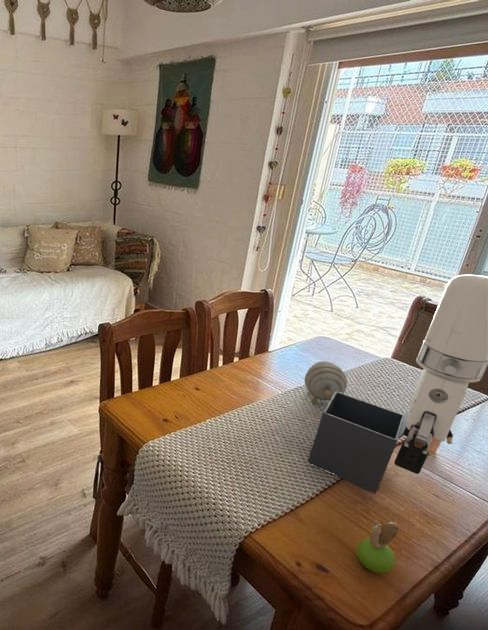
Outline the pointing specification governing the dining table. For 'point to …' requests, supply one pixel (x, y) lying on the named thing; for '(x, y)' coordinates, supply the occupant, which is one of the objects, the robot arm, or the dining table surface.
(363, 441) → the carton
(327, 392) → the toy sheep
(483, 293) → the robot arm
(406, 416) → the flap
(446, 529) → the dining table surface
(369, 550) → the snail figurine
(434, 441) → the grandmother figurine
